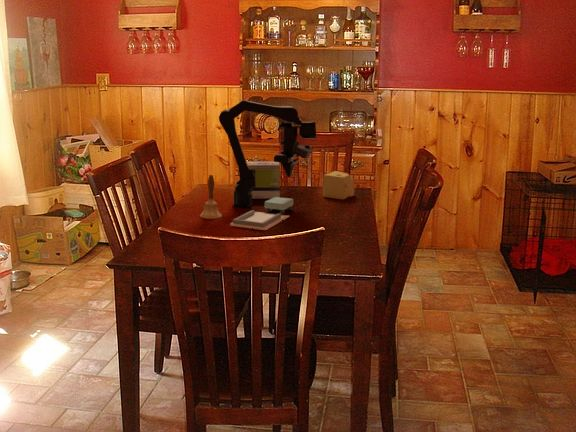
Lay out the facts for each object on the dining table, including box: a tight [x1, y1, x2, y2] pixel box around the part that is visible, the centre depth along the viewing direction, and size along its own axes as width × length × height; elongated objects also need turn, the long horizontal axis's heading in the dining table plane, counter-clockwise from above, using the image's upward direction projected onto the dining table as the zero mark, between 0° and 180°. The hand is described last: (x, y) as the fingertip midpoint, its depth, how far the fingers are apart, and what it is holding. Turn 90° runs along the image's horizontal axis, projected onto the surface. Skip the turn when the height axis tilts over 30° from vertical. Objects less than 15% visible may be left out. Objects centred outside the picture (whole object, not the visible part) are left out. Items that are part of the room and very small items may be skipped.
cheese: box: [322, 170, 355, 200], centre depth 302 cm, size 10×11×10 cm
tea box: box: [246, 161, 281, 200], centre depth 298 cm, size 15×10×15 cm, turn 92°
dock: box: [229, 209, 290, 231], centre depth 259 cm, size 14×22×2 cm, turn 157°
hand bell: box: [199, 174, 223, 220], centre depth 263 cm, size 8×8×16 cm
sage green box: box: [264, 196, 294, 215], centre depth 274 cm, size 8×10×4 cm
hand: (289, 177), depth 281 cm, fingers closed
